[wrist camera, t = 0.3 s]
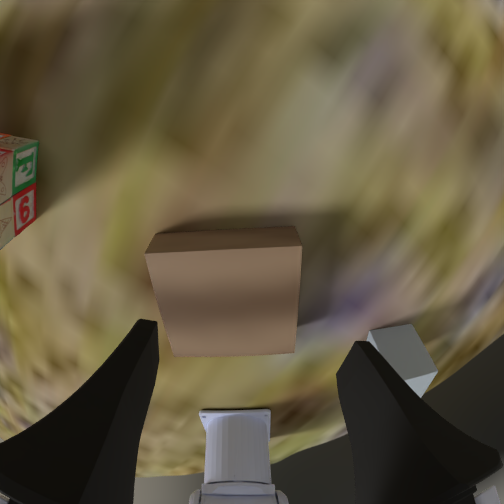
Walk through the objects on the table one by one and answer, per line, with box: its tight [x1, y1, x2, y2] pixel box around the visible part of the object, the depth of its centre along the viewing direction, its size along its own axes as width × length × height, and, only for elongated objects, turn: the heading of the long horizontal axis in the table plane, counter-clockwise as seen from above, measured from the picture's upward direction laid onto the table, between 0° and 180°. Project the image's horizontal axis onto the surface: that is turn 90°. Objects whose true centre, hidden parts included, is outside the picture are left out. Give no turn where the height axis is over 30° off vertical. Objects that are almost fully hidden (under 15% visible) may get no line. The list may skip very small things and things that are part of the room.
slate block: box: [367, 324, 438, 398], centre depth 22 cm, size 4×4×6 cm
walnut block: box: [145, 226, 302, 357], centre depth 20 cm, size 9×9×3 cm
